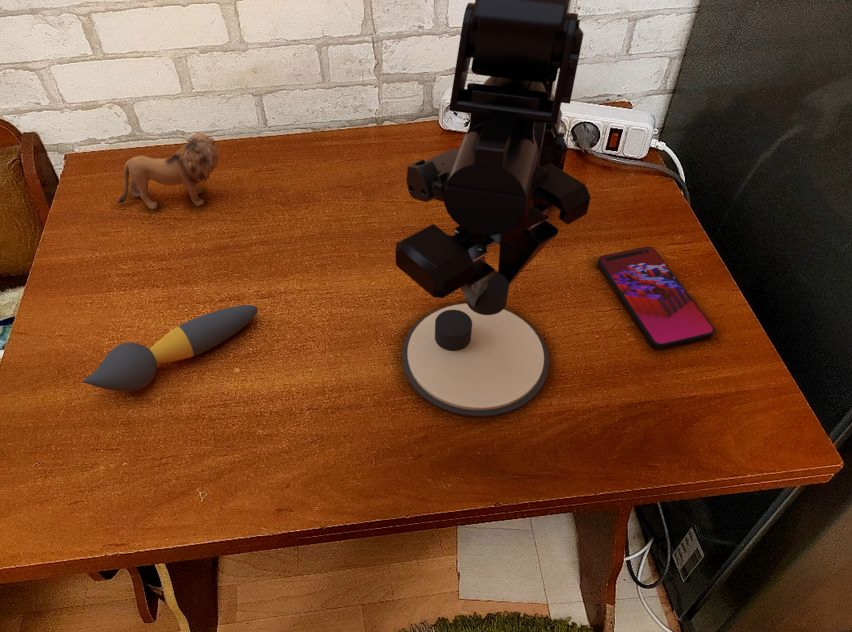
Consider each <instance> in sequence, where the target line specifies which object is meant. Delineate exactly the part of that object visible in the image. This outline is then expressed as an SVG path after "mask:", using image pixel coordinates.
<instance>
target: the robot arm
mask: <svg viewBox="0 0 852 632" xmlns="http://www.w3.org/2000/svg"><path fill="white" fill-rule="evenodd" d="M571 3H572V0H474V2H468V3H467V4H466V7H465V10H464V14H463V19H462V24H461V31H460V37H459V44H458V50H457V56H456V63H455V69H454V76H453V83H452V88H451V95H450V100H449V101H450V102H449V111H450V112H456V113H464V114H470V116H469V126H468V129H467V131H466V132H465V135H464V136H463V139H462V140H461V143H460V146H459V148H452V149H448V150H446V151H444V152H442V153H439V154H438V155H434V156H433V157H431V158H429V159H426V160H425V159H420V160H418V161H416V162H413V163H411V164H409V165H407V172H406V185H407V190H408V193H409V195H410V197H411V198H412V199H414V200H417V201H420V202H424V203H428V202H431V201H432V200H435V201H438V202H443V205H444V207H445V209H446V212H447V214H448V215H449V217H450V218H451V219H452V221H454V222H455V223H456V224H457V225H458V226H456V227H455V228H454V234H453V235H451V234H448V233H446V232H445V231H443V229H441V228H440V227H438V226H437V225H435V223H434V224H433V223H432V224H431V225H428V226H426V227H424V228H422V229H421V230H418V231H417V232H414V233H413V234H411V235H408V236H407V237H405V238H403V239H402V240H399V241H397V242H396V244H395V251H394V252H395V266H396V267H397V268H398V269H399V270H401V271H402V272H403V273H404V274H405V275H406V276H408V277H409V278H410V279H411V280H412V281H413V282H415V284H417V285H418V286H420V288H422V290H424V291H425V292H427V294H429V295H430V296H431V297H433V298H435V299H444V298H446V297H448V296H449V295H451V294H452V293H454V292H457V291H458V290H459V289H460V290H461V292H462V294H463V297H464V299H465V302H466V301H467V303H468V304H470V305H471V306H472V307H475V306H477V304H478V303H479V301H480V300H481V298H482V296H483V294H484V292H485V290H486V288H487V286H488V284H489V282H490V280H491V278H492V276H493V274H494V272H495V271H496V268H494V267H493V266H491V265H490V264H489V263H487V261H486V257H487V256H488V249H489V248H491V247H492V246H494V245H496V244H499V253H498V266H497V272H499V273H501V274H502V275H504V276H505V277H506V278H507V280H508V282H509V286H511V285H512V284H513V282H514V281H515V280H516V279H517V278H518V276H519V275H520V274H521V273H522V272H523V271H524V270H525V268H526V267H527V266H528V265H529V263H531V262H532V261H533V259H534V258H535V257H537V255H538V254H539V253H540V252H541V251H542V250H543V249H544V248H545V247H546V246H547V245H548V243H550V241H551V240H553V239H554V238H556V237H557V236H558V234H559V228H558V227H556V226H555V225H554V224H552V223H550V222H549V215H547V214H548V210H549V208H551V207H552V206H554V207H555V208H556V209H558V210H559V214H558V215H559V216H558V219H559V220H560V221H562V223H564V224H565V225H570V224H572V223H573V222H575V221H577V220H579V219H580V218H582V217H584V216H586V215H587V214H588V210H589V206H590V202H591V194H590V192H589V189H588V187H587V186H586V184H585V183H583V182H582V181H580V180H578V178H575V177H574V176H572V175H571V174H569V173H568V172H566V171H564V168H565V163H566V158H567V153H568V147H569V145H568V144H567V143H566V138H565V132H560V129H561V122H562V117H563V111H562V109H561V106H562V104H569V105H570V104H571V101H572V95H573V90H574V85H575V81H576V76H577V75H576V74H577V70H578V65H579V60H580V55H581V49H582V45H583V39H584V34H585V33H584V32H583V30H582V29H581V27H580V23H581V19H579V13H574V12H570V9H571ZM470 65H471V66H470ZM470 67H471V68H470ZM469 69H470V70H471V72H472V74H474V75H476V76H484V77H488V78H487V79H486V80H485V81H484V82H483V83H475V82H469V83H467V79H468V74H469ZM555 82H556V85H555ZM466 83H467V86H466ZM554 85H555V92H554ZM553 93H554V94H553Z"/></svg>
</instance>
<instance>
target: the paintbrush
mask: <svg viewBox="0 0 852 632" xmlns="http://www.w3.org/2000/svg"><path fill="white" fill-rule="evenodd" d="M258 312H259V308H258V307H257V306H256V305H253V304H242V305H235V306H229V307H226V308H221V309H218V310H215V311H212V312H209V313H206V314H202V315H200V316H198V317H195V318H192V319H190V320H187V321H185V322H183V323H181V324H179V325H176V327H174V328H173V329H172V330H170V331H169V332H167V333H166V334H165V335H164V336H162V337H161V338H160V339H159V340H158V341H156V342H155V343H154V344H152V345H151V346H150V347H149V348H148V347H147V346H145V345H143V344H141V343H138V342H123V343H121V344H117V345H116V346H115V347H113V348H112V349H111V350H110V351H109V352H108V353H107V354H106V356H105V357H104V358H103V360H102V361H101V362H100V363H99V365H98V367H97V368H96V369H95V370H94V371H93V372H92V373H91V374H90V375H89V376H87V377H86V378H84V379H83V380H82V381H81V383H83V384H88V385H89V386H90V385H91V386H93V387H97V388H99V389H104V390H108V391H116V392H135V391H139V390H142V389H143V388H145V387H147V386H148V385H149V384H150V383H151V382H152V381H153V380H154V377H155V376H156V373H157V365H160V364H165V363H171V362H172V363H173V362H176V361H181V360H184V359H191V358H193V357H196V356H198V355H200V354H203V353H204V352H206V351H209V350H210V349H213V348H214V347H216V346H218V345H219V344H221V343H223V342H224V341H227V340H228V339H230V338H231V337H232V336H234V335H235V334H237V333H238V332H239V331H241V330H242V329H243V328H245V327H246V326H247V325H249V323H251V322H252V320H253V319H254V318H255V317H256V315H257V314H258Z"/></svg>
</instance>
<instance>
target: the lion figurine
mask: <svg viewBox="0 0 852 632" xmlns="http://www.w3.org/2000/svg"><path fill="white" fill-rule="evenodd" d="M219 159H220V153H219V151H218V147H217V145H216V143H215V139H214V138H213V137H210V136H209V135H206V134H205V133H203V132H200V133H195V134H193V135H191V136H189V137H188V140H187V142H186V143H185V144H184V145H183V146H182V147H181V148H179V150H176V151H175V152H174V153H173V154H172V155H171V156H170V157H166V158H153V157H150V156H147V155H137V156H134V157H131V158H130V159H128V160H127V161H126V162H125V164H124V167H123V185H124V186H123V187H124V188H123V189H124V190H123V194H122V195H121V196H120V197H119V199H118V200H117V204H124V203H125V202H126V200H127V198H128V194H129V188H130V193H131V195H132V196H133V197H135V198H138V197H140V198H141V200H143V202H144V203H145V204H146V206H147V207H148V208H149V209H150V210H157V209H158V208H159V204H158V202H156V201H152V200H151V199H150V198H149V195H148V190H149V180H150V181H153V182H156V183H158V184H160V185H164V186H179V185H182V186H183V187H185V189H186V191H187V193H188V194H189V197H190V200H191V201H192V203H193V204H194V205H195V206H197V207H201V206H203V205H204V200H203V199H202V198H200V197H199V196H198V195H200V194H201V193H202V189H201V187H197V184H200V183H202V182H206V181H208V180H209V178H210V175H211V173H212V172H213V171H214V169H215V168H216V167H217V166H218V163H219ZM130 176H131V179H129V178H130ZM137 188H138V189H137Z"/></svg>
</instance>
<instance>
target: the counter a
mask: <svg viewBox="0 0 852 632" xmlns="http://www.w3.org/2000/svg"><path fill="white" fill-rule="evenodd" d="M471 332H472V320H471V318H470V317H469V316H468V315H467V314H466V313H464V312H462V311H460V310H447V311H444V312H442V313H440V314H439V315H438V316H437V318H436V321H435V341H436V343H437V344H438V345H439V346H440V347H441V348H443V349H445V350H449V351H458V350H462V349H464V348H465V347H467V346H468V344H469V343H470V341H471Z"/></svg>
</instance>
